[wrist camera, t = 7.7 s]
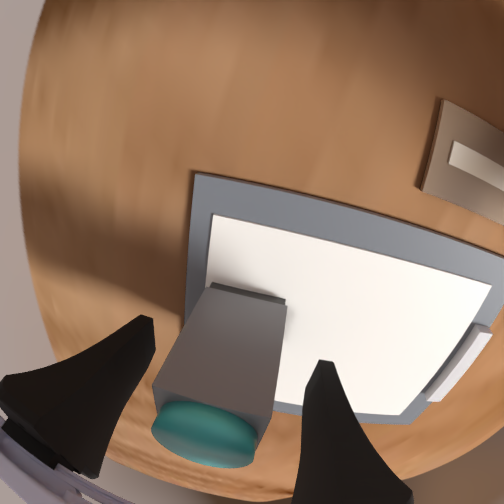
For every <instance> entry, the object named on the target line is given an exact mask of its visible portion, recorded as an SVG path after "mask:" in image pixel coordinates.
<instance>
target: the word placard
mask: <svg viewBox="0 0 504 504" xmlns="http://www.w3.org/2000/svg"><path fill="white" fill-rule="evenodd" d="M420 190H421V191H422V192H425V193H428V194H430V195H433V196H436V197H438V198H441V199H443V200H446V201H448V202H451V203H453V204H456V205H458V206H461V207H463V208H465V209H468V210H470V211H472V212H475V213H477V214H479V215H481V216H484V217H486V218H488V219H490V220H492V221H494V222H497V223H499V224H501V225H503V226H504V133H503V132H502V131H500V130H499V129H497V128H495V127H494V126H492V125H491V124H489V123H487V122H486V121H484V120H482V119H481V118H479V117H477V116H475V115H474V114H472V113H470V112H468V111H466V110H465V109H463V108H461V107H459V106H457V105H455V104H453V103H451V102H449V101H447V100H445V99H442V100H441V105H440V111H439V116H438V121H437V125H436V130H435V134H434V139H433V143H432V147H431V151H430V155H429V159H428V163H427V166H426V170H425V174H424V177H423V180H422V184H421V187H420Z"/></svg>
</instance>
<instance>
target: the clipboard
mask: <svg viewBox="0 0 504 504" xmlns="http://www.w3.org/2000/svg"><path fill="white" fill-rule="evenodd" d="M212 282H215V283H219V284H223V285H227V286H231V287H235V288H240V289H244V290H248V291H252V292H257V293H261V294H266V295H270V296H274V297H279V298H283V299H286V302H285V305H287V314H286V322H285V330H284V338H283V345H282V352H281V359H280V366H279V373H278V380H277V386H276V393H275V399H274V405H273V411H277V412H283V413H288V414H294V415H300V416H302V407H303V400H304V393H305V387H306V385H307V383H308V381H309V379H310V377H311V375H312V373H313V371H314V369H315V367H316V365H317V363H318V360H319V359H321V360H327V361H333V362H334V364H335V367H336V370H337V373H338V376H339V378H340V381H341V384H342V386H343V389H344V391H345V394H346V396H347V398H348V401H349V403H350V405H351V407H352V410H353V412H354V414H355V416H356V418H357V420H358V422H359V423H374V424H409V425H410V424H411V423H412V422H413V421H414V420H415V419H416V418H417V417H418V416H419V415H420V414H421V413H422V412H423V411H424V410H425V409H426V408H427V407H428V406H429V405H430V404H431V403H432V402H433V401H441V400H442V398H443V397H444V396H445V395H446V394H447V393H448V392H449V391H450V390H451V388H452V387H453V386H454V385H455V384H456V383H457V381H458V380H459V379H460V378H461V377H462V375H463V374H464V373H465V372H466V370H467V369H468V368H469V367H470V365H471V364H472V363H473V361H474V360H475V359H476V357H477V356H478V355H479V353H480V352H481V351H482V349H483V348H484V346H485V345H486V343H487V342H488V341H489V339H490V338H491V336H492V335H493V334H492V332H491V330H490V329H489V328H490V326H491V325H492V323H493V321H494V320H495V318H496V317H497V315H498V313H499V312H500V310H501V308H502V306H503V305H504V257H503V256H501V255H498V254H496V253H493V252H490V251H488V250H485V249H483V248H480V247H477V246H475V245H472V244H469V243H467V242H464V241H461V240H458V239H455V238H453V237H450V236H447V235H444V234H441V233H438V232H435V231H432V230H429V229H426V228H423V227H420V226H417V225H414V224H411V223H407V222H404V221H401V220H398V219H395V218H391V217H388V216H384V215H381V214H378V213H374V212H371V211H367V210H364V209H360V208H356V207H353V206H349V205H345V204H342V203H338V202H334V201H330V200H326V199H322V198H318V197H314V196H310V195H306V194H302V193H298V192H293V191H289V190H285V189H280V188H276V187H271V186H267V185H262V184H257V183H252V182H247V181H242V180H237V179H232V178H227V177H222V176H216V175H211V174H205V173H200V172H198V173H197V174H195V181H194V191H193V200H192V210H191V221H190V233H189V245H188V259H187V275H186V293H185V317H184V325H185V323H186V322H187V320H188V318H189V316H190V314H191V313H192V311H193V309H194V307H195V305H196V304H197V302H198V300H199V298H200V297H201V295H202V293H203V291H204V290H205V288H206V287H210V285H211V283H212Z"/></svg>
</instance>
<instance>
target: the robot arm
mask: <svg viewBox="0 0 504 504" xmlns="http://www.w3.org/2000/svg"><path fill="white" fill-rule="evenodd" d="M155 351H156V347H155V336H154V324H153V318H150V317H147V316H144V315H139V316H138V317H136V318H135V319H133V320H132V321H130V322H129V323H127V324H126V325H124V326H123V327H121V328H120V329H119V330H117V331H116V332H114V333H113V334H111V335H109V336H108V337H106V338H105V339H103V340H102V341H100V342H98V343H97V344H95V345H93V346H92V347H90V348H88V349H86V350H84V351H83V352H81V353H79V354H77V355H75V356H72V357H70V358H68V359H66V360H63V361H61V362H58V363H55V364H53V365H50V366H47V367H44V368H40V369H37V370H33V371H28V372H24V373H18V374H11V375H6V376H5V377H4V378H3V379H2V380H1V382H0V408H1V409H2V410H3V411H4V413H5V414H6V415H7V416H8V419H7V420H6V421H5V420H4V419H3V418H2V417H1V416H0V478H1V479H2V480H3V481H4V482H5V483H6V484H7V485H8V486H9V487H10V488H11V489H12V490H13V491H14V492H15V493H16V494H18V496H19V497H20V498H22V499H23V500H24V501H25V502H26V503H27V504H92V503H91V502H89V501H87V500H85V499H84V498H82V495H81V493H80V492H82V493H83V494H85V495H87V496H89V497H91V498H92V499H94V500H96V501H98V502H100V503H102V504H134V503H132V502H130V501H127V500H125V499H123V498H121V497H118V496H116V495H114V494H112V493H110V492H108V491H106V490H104V489H102V488H100V487H98V486H96V485H95V484H92V483H91V482H89V481H87V480H85V479H84V478H82V477H80V476H78V475H77V474H75V473H73V471H75V472H77V473H78V474H83V475H84V476H86V477H88V478H90V479H95V478H98V477H99V473H100V469H101V466H102V462H103V459H104V456H105V453H106V450H107V447H108V444H109V441H110V439H111V436H112V434H113V431H114V429H115V426H116V424H117V422H118V419H119V417H120V415H121V413H122V411H123V409H124V407H125V405H126V403H127V402H128V400H129V398H130V397H131V395H132V393H133V392H134V390H135V388H136V387H137V385H138V384H139V382H140V380H141V379H142V377H143V375H144V374H145V372H146V370H147V369H148V366H149V364H150V362H151V360H152V358H153V355H154V353H155ZM79 491H80V492H79ZM291 504H414V499H413V493H412V490H411V489H410V488H409V487H408V486H407V485H405V484H404V483H403V482H402V481H401V480H400V479H399V478H398V477H397V476H396V475H395V474H394V473H393V471H392V470H391V469H390V468H389V467H388V466H387V464H386V463H385V462H384V460H383V459H382V458H381V457H380V455H379V454H378V453H377V451H376V450H375V448H374V447H373V445H372V444H371V442H370V441H369V439H368V438H367V436H366V434H365V433H364V431H363V429H362V427H361V426H360V424H359V422H358V420H357V418H356V416H355V414H354V412H353V410H352V407H351V405H350V403H349V401H348V398H347V396H346V394H345V391H344V389H343V386H342V384H341V381H340V378H339V376H338V373H337V370H336V367H335V364H334V362H333V361H327V360H321V359H319V360H318V363H317V365H316V367H315V369H314V371H313V373H312V375H311V377H310V379H309V381H308V383H307V385H306V387H305V393H304V400H303V407H302V433H301V454H300V463H299V468H298V474H297V479H296V484H295V489H294V494H293V498H292V502H291Z"/></svg>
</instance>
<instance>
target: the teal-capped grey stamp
mask: <svg viewBox="0 0 504 504" xmlns="http://www.w3.org/2000/svg"><path fill="white" fill-rule="evenodd" d="M285 302H286V299H283V298H279V297H274V296H270V295H266V294H261V293H257V292H252V291H248V290H244V289H240V288H235V287H231V286H227V285H223V284H219V283H215V282H212V283H211V285H210V287H206V288H205V290H204V291H203V293H202V295H201V297H200V298H199V300H198V302H197V304H196V305H195V307H194V309H193V311H192V313H191V314H190V316H189V318H188V320H187V322H186V323H185V325H184V327H183V329H182V331H181V332H180V334H179V336H178V338H177V340H176V342H175V343H174V345H173V347H172V349H171V351H170V352H169V354H168V356H167V358H166V360H165V362H164V364H163V365H162V367H161V369H160V371H159V373H158V375H157V377H156V378H155V380H154V382H153V384H152V388H153V394H154V400H155V405H156V410H157V417H156V419H155V421H154V423H153V425H152V428H151V432H152V434H153V436H154V438H155V439H156V440H157V441H158V442H159V443H160V444H161V445H163V446H164V447H165V448H167V449H168V450H170V451H171V452H173V453H175V454H177V455H179V456H181V457H183V458H185V459H188V460H190V461H193V462H196V463H199V464H203V465H207V466H212V467H219V468H240V467H244V466H247V465H249V464H251V463H252V462H253V459H254V455H255V451H256V449H257V447H258V445H259V443H260V441H261V439H262V437H263V435H264V433H265V431H266V428H267V426H268V424H269V422H270V420H271V417H272V411H273V405H274V399H275V393H276V386H277V380H278V373H279V366H280V359H281V352H282V345H283V338H284V330H285V322H286V314H287V305H285Z"/></svg>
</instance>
